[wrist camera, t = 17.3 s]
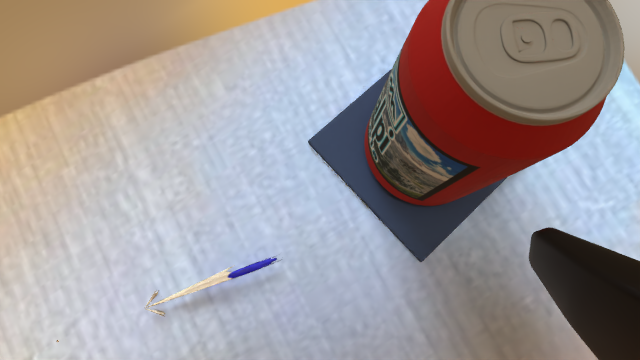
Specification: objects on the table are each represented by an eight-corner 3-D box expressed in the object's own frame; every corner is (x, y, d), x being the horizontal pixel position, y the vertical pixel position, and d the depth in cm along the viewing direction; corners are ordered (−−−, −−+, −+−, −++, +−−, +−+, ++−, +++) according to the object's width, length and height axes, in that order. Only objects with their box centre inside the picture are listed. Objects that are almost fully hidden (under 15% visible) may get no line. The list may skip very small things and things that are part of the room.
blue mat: (528, 154, 25) (531, 153, 25) (420, 262, 23) (421, 262, 23) (418, 46, 26) (420, 44, 26) (307, 142, 24) (307, 140, 24)
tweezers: (57, 321, 22) (48, 323, 21) (283, 238, 23) (283, 236, 22) (65, 355, 21) (56, 358, 21) (294, 268, 23) (294, 268, 22)
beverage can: (354, 98, 25) (404, -60, 13) (468, 88, 25) (616, -72, 14) (369, 215, 23) (443, 156, 12) (490, 202, 24) (676, 133, 12)
